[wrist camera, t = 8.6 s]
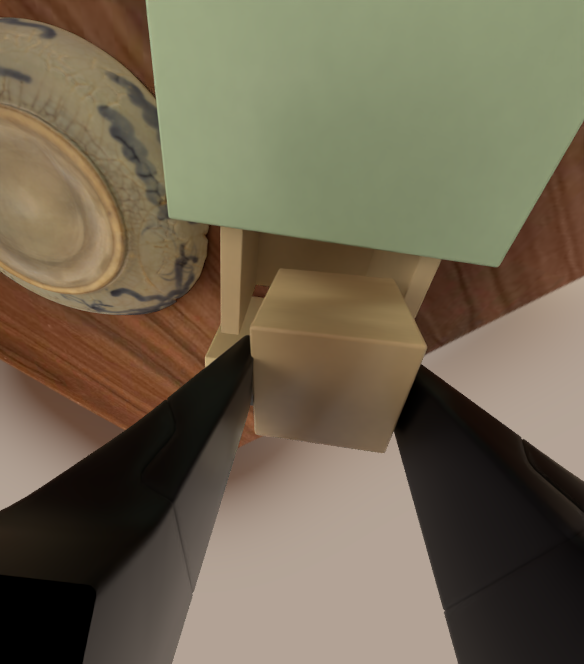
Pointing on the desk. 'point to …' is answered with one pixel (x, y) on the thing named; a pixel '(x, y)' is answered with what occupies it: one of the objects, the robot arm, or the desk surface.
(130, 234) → the decorative bowl
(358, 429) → the block
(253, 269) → the drawer
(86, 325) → the desk surface
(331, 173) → the cabinet
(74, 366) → the desk surface
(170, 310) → the desk surface
